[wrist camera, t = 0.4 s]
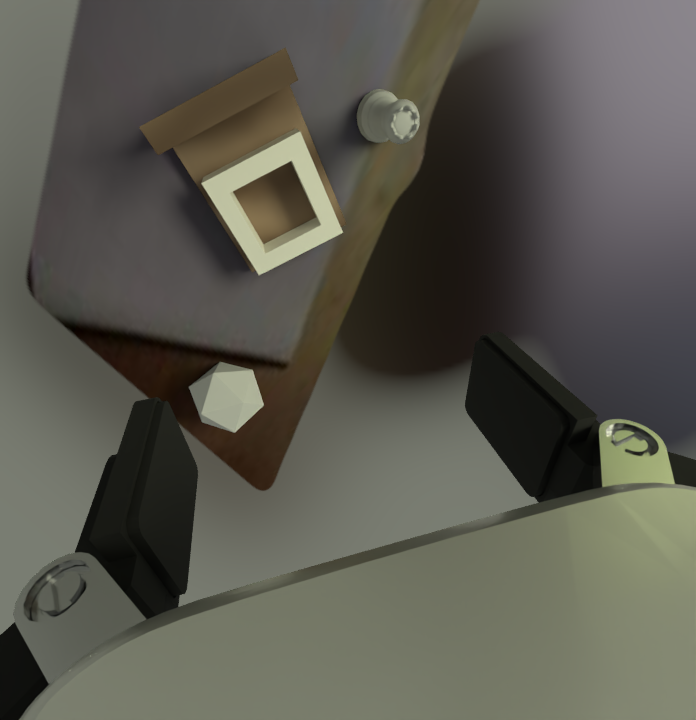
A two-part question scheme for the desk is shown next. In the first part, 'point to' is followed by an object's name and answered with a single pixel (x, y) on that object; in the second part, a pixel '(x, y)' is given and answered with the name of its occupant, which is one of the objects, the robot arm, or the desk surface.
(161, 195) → the desk surface
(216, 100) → the wooden bookend
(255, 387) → the die
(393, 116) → the rook chess piece
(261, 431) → the desk surface
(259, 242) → the socket block
